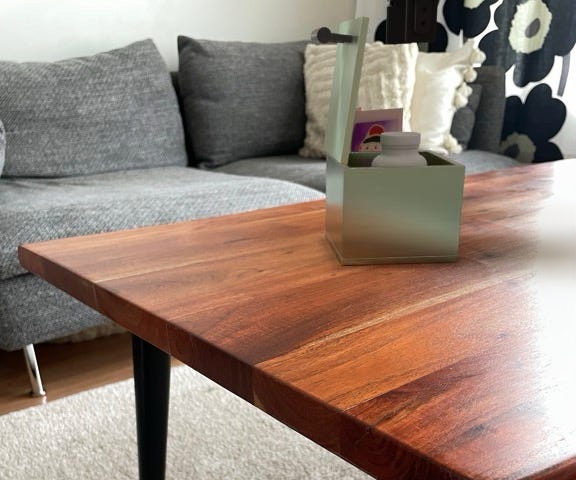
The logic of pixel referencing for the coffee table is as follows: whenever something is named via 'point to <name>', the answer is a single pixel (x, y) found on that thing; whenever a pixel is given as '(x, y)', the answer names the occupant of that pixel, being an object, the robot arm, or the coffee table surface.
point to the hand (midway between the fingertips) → (409, 43)
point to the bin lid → (343, 83)
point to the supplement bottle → (399, 150)
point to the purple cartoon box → (374, 128)
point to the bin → (394, 210)
